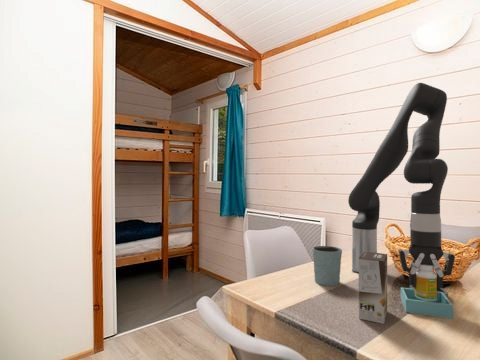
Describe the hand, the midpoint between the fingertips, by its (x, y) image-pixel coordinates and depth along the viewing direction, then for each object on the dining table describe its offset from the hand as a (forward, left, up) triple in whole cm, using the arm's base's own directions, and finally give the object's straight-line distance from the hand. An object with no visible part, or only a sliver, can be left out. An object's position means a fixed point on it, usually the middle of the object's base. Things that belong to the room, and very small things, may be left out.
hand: (425, 287), depth 85 cm
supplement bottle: (0, 0, -3) cm, 3 cm away
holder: (+3, +11, -6) cm, 13 cm away
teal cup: (-28, +13, -6) cm, 32 cm away
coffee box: (-14, -10, -6) cm, 18 cm away
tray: (0, 0, -6) cm, 6 cm away
